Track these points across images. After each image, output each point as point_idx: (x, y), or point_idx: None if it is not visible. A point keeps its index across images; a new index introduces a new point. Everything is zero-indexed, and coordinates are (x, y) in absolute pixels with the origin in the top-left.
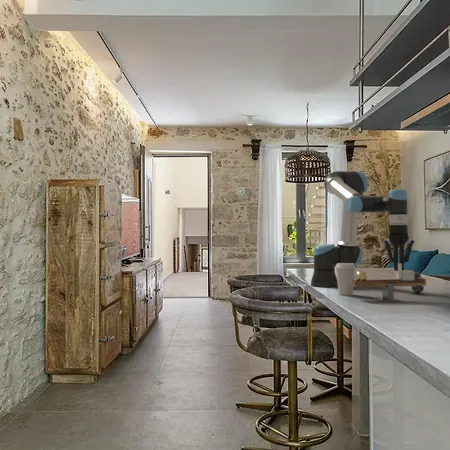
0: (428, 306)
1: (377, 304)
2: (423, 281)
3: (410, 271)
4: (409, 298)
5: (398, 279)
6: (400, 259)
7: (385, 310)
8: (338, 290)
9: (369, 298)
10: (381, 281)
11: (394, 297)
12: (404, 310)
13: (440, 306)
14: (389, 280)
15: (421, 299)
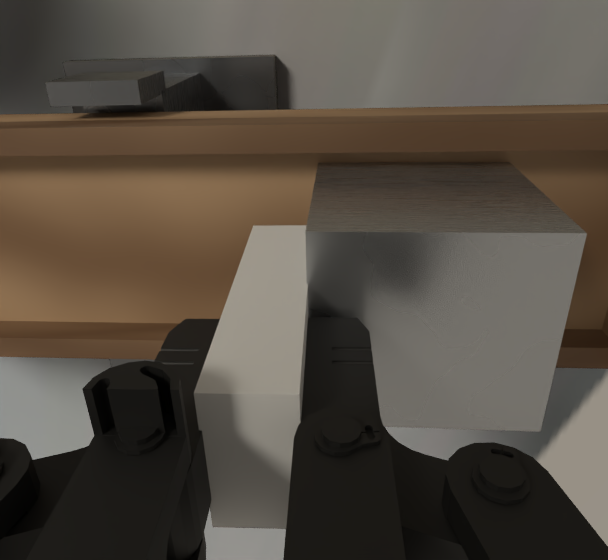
0: (431, 437)
1: (74, 381)
2: (598, 358)
3: (466, 425)
4: (470, 9)
5: (309, 152)
6: (313, 533)
7: None
8: None
9: (3, 50)
10: (23, 349)
11: (268, 103)
12: (219, 548)
13: (521, 434)
14: (159, 152)
15: (574, 82)
